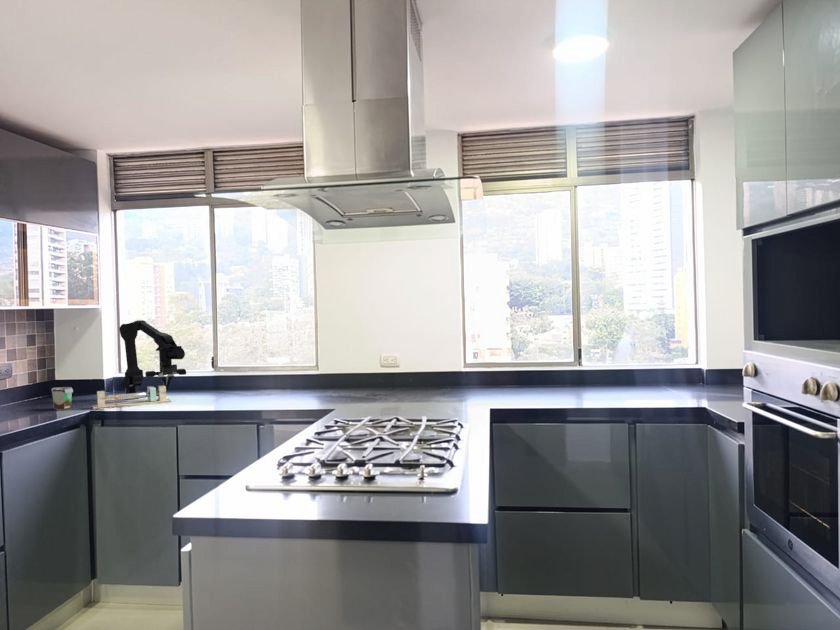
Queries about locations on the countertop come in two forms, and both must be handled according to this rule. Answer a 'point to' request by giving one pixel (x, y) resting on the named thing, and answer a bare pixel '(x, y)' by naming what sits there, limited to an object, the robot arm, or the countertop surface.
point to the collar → (152, 393)
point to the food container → (62, 398)
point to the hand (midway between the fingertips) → (166, 389)
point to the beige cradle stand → (102, 404)
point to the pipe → (128, 396)
